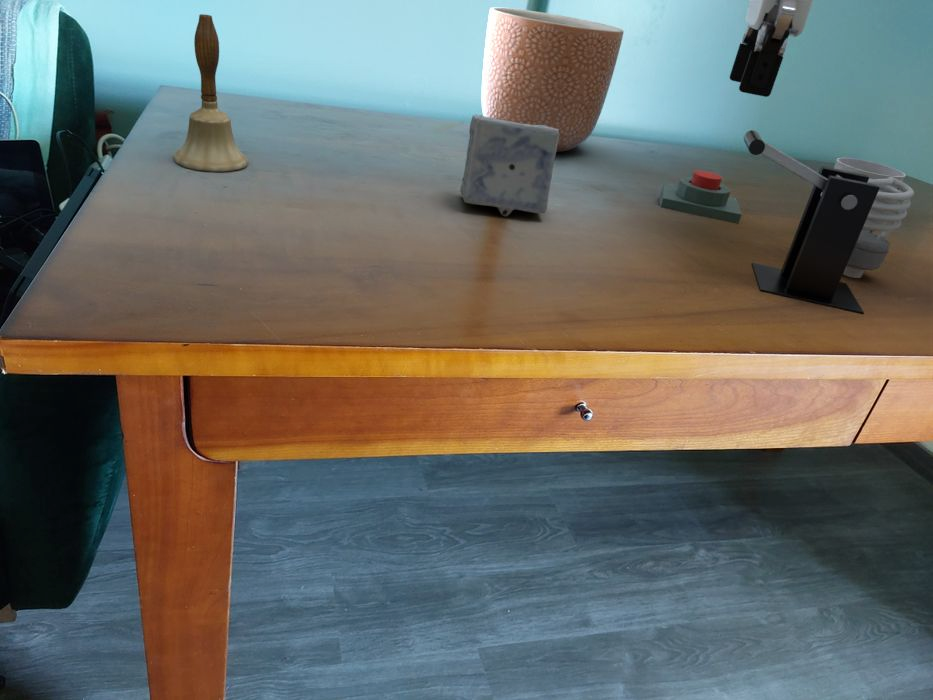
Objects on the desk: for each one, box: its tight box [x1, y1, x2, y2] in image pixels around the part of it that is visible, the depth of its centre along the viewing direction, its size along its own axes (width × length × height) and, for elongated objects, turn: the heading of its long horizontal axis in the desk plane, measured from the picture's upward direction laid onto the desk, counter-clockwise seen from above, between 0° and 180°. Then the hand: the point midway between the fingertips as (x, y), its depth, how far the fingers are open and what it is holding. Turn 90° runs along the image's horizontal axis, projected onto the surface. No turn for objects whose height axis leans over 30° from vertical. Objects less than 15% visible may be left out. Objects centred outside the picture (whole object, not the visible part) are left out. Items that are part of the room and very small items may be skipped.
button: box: [691, 170, 723, 190], centre depth 96 cm, size 4×4×2 cm
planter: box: [481, 6, 624, 153], centre depth 116 cm, size 21×21×19 cm
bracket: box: [751, 165, 880, 315], centre depth 73 cm, size 10×8×13 cm
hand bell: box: [173, 13, 249, 173], centre depth 83 cm, size 8×8×16 cm
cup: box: [833, 157, 907, 234], centre depth 94 cm, size 8×8×10 cm
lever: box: [743, 129, 842, 196], centre depth 71 cm, size 12×5×2 cm, turn 76°
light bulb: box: [842, 177, 915, 279], centre depth 80 cm, size 6×6×12 cm
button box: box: [658, 176, 742, 224], centre depth 97 cm, size 10×8×4 cm
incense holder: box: [459, 114, 559, 217], centre depth 85 cm, size 10×8×10 cm
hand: (747, 87), depth 81 cm, fingers open, 9 cm apart
